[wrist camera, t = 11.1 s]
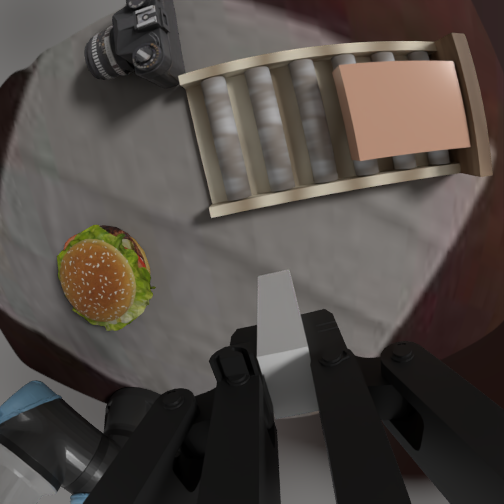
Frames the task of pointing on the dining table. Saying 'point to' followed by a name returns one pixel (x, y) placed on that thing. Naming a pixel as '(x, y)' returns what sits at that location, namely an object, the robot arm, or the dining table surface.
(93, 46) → the camera
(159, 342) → the dining table surface
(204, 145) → the roller bed
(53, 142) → the dining table surface
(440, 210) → the dining table surface
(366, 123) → the slab
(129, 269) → the food
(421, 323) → the dining table surface
